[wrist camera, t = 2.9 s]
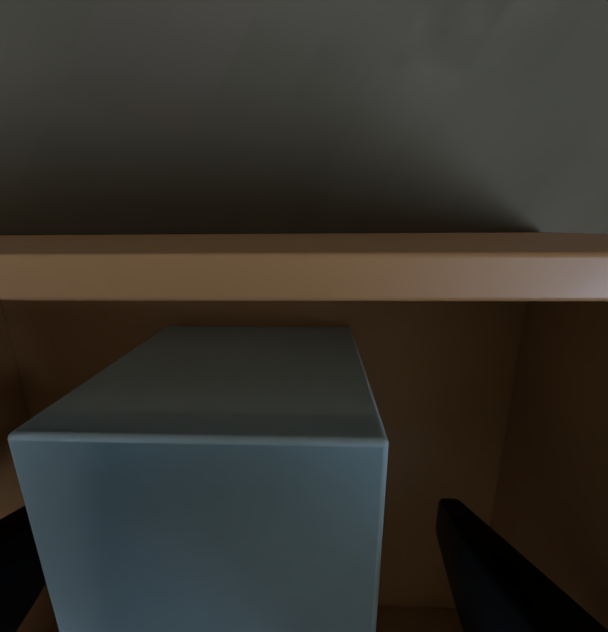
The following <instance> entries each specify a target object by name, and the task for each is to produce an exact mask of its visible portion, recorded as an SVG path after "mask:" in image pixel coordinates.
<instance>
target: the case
mask: <svg viewBox="0 0 608 632" xmlns="http://www.w3.org/2000/svg"><path fill="white" fill-rule="evenodd" d="M7 440H8V443H9V447H10V451H11V454H12V458H13V462H14V466H15V469H16V473H17V477H18V481H19V484H20V488H21V492H22V495H23V499H24V503H25V507H26V510H27V514H28V518H29V522H30V525H31V529H32V533H33V536H34V540H35V544H36V548H37V551H38V555H39V559H40V562H41V566H42V570H43V574H44V577H45V581H46V585H47V589H48V592H49V596H50V600H51V603H52V607H53V611H54V615H55V618H56V622H57V626H58V630H59V632H376V624H377V610H378V595H379V580H380V565H381V551H382V536H383V521H384V506H385V492H386V477H387V462H388V447H389V442H388V439H387V436H386V433H385V430H384V427H383V424H382V421H381V418H380V415H379V412H378V409H377V406H376V403H375V400H374V397H373V394H372V391H371V388H370V385H369V382H368V379H367V376H366V373H365V370H364V367H363V364H362V361H361V358H360V355H359V352H358V349H357V346H356V343H355V340H354V337H353V334H352V331H351V328H350V327H271V326H168V327H166V328H164V329H163V330H161V331H160V332H158V333H157V334H155V335H154V336H153V337H151V338H150V339H148V340H147V341H145V342H144V343H142V344H141V345H139V346H138V347H136V348H135V349H133V350H132V351H130V352H129V353H127V354H126V355H124V356H123V357H122V358H120V359H119V360H117V361H116V362H114V363H113V364H111V365H110V366H108V367H107V368H105V369H104V370H102V371H101V372H99V373H98V374H96V375H95V376H93V377H92V378H91V379H89V380H88V381H86V382H85V383H83V384H82V385H80V386H79V387H77V388H76V389H74V390H73V391H71V392H70V393H68V394H67V395H65V396H64V397H62V398H61V399H59V400H58V401H57V402H55V403H54V404H52V405H51V406H49V407H48V408H46V409H45V410H43V411H42V412H40V413H39V414H37V415H36V416H34V417H33V418H31V419H30V420H28V421H27V422H26V423H24V424H23V425H21V426H20V427H18V428H17V429H15V430H14V431H12V432H11V433H10V434H9V435H8V439H7Z"/></svg>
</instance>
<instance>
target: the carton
mask: <svg viewBox="0 0 608 632" xmlns="http://www.w3.org/2000/svg"><path fill="white" fill-rule="evenodd" d="M168 326H271V327H350V328H351V331H352V334H353V337H354V340H355V343H356V346H357V349H358V352H359V355H360V358H361V361H362V364H363V367H364V370H365V373H366V376H367V379H368V382H369V385H370V388H371V391H372V394H373V397H374V400H375V403H376V406H377V409H378V412H379V415H380V418H381V421H382V424H383V427H384V430H385V433H386V436H387V439H388V442H389V447H388V462H387V477H386V492H385V506H384V521H383V536H382V551H381V565H380V580H379V595H378V610H377V624H376V632H464V631H463V628H462V625H461V622H460V619H459V616H458V613H457V610H456V607H455V603H454V600H453V596H452V592H451V588H450V584H449V581H448V577H447V573H446V569H445V566H444V562H443V558H442V554H441V550H440V547H439V543H438V539H437V534H436V519H437V511H438V503H439V500H440V499H442V498H455V499H458V500H460V501H461V502H462V503H463V504H464V505H466V506H467V507H468V508H469V509H470V510H471V511H472V512H474V513H475V514H476V515H477V516H478V517H479V518H480V519H482V520H483V521H484V522H485V523H486V524H487V525H488V526H490V527H491V528H492V529H493V530H494V531H495V532H496V533H498V534H499V535H500V536H501V537H502V538H503V539H504V540H506V541H507V542H508V543H509V544H510V545H511V546H512V547H514V548H515V549H516V550H517V551H518V552H519V553H520V554H522V555H523V556H524V557H525V558H526V559H527V560H528V561H530V562H531V563H532V564H533V565H534V566H535V567H536V568H538V569H539V570H540V571H541V572H542V573H543V574H544V575H546V576H547V577H548V578H549V579H550V580H551V581H552V582H554V583H555V584H556V585H557V586H558V587H559V588H560V589H562V590H563V591H564V592H565V593H566V594H567V595H568V596H570V597H571V598H572V599H573V600H574V601H575V602H576V603H578V604H579V605H580V606H581V607H582V608H583V609H584V610H586V611H587V612H588V613H589V614H590V615H591V616H592V617H594V618H595V619H596V620H597V621H598V622H599V623H600V624H602V625H603V626H604V627H605V628H606V629H607V630H608V234H584V233H551V232H507V233H326V234H145V235H0V519H1V518H3V517H5V516H7V515H9V514H10V513H12V512H14V511H16V510H18V509H20V508H21V507H23V506H25V503H24V499H23V495H22V492H21V488H20V484H19V481H18V477H17V473H16V469H15V466H14V462H13V458H12V454H11V451H10V447H9V443H8V440H7V439H8V435H9V434H10V433H11V432H12V431H14V430H15V429H17V428H18V427H20V426H21V425H23V424H24V423H26V422H27V421H28V420H30V419H31V418H33V417H34V416H36V415H37V414H39V413H40V412H42V411H43V410H45V409H46V408H48V407H49V406H51V405H52V404H54V403H55V402H57V401H58V400H59V399H61V398H62V397H64V396H65V395H67V394H68V393H70V392H71V391H73V390H74V389H76V388H77V387H79V386H80V385H82V384H83V383H85V382H86V381H88V380H89V379H91V378H92V377H93V376H95V375H96V374H98V373H99V372H101V371H102V370H104V369H105V368H107V367H108V366H110V365H111V364H113V363H114V362H116V361H117V360H119V359H120V358H122V357H123V356H124V355H126V354H127V353H129V352H130V351H132V350H133V349H135V348H136V347H138V346H139V345H141V344H142V343H144V342H145V341H147V340H148V339H150V338H151V337H153V336H154V335H155V334H157V333H158V332H160V331H161V330H163V329H164V328H166V327H168ZM17 632H59V630H58V626H57V622H56V618H55V615H54V611H53V607H52V603H51V600H50V596H49V592H48V589H47V585H46V584H45V586H44V588H43V589H42V591H41V593H40V595H39V596H38V598H37V600H36V601H35V603H34V605H33V606H32V608H31V610H30V611H29V613H28V614H27V616H26V617H25V619H24V621H23V622H22V624H21V625H20V627H19V628H18V630H17Z"/></svg>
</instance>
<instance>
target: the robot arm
mask: <svg viewBox="0 0 608 632" xmlns="http://www.w3.org/2000/svg"><path fill="white" fill-rule="evenodd" d="M436 534H437V539H438V543H439V547H440V550H441V554H442V558H443V562H444V566H445V569H446V573H447V577H448V581H449V584H450V588H451V592H452V596H453V600H454V603H455V607H456V610H457V613H458V616H459V619H460V622H461V625H462V628H463V631H464V632H608V630H607V629H606V628H605V627H604V626H603V625H602V624H600V623H599V622H598V621H597V620H596V619H595V618H594V617H592V616H591V615H590V614H589V613H588V612H587V611H586V610H584V609H583V608H582V607H581V606H580V605H579V604H578V603H576V602H575V601H574V600H573V599H572V598H571V597H570V596H568V595H567V594H566V593H565V592H564V591H563V590H562V589H560V588H559V587H558V586H557V585H556V584H555V583H554V582H552V581H551V580H550V579H549V578H548V577H547V576H546V575H544V574H543V573H542V572H541V571H540V570H539V569H538V568H536V567H535V566H534V565H533V564H532V563H531V562H530V561H528V560H527V559H526V558H525V557H524V556H523V555H522V554H520V553H519V552H518V551H517V550H516V549H515V548H514V547H512V546H511V545H510V544H509V543H508V542H507V541H506V540H504V539H503V538H502V537H501V536H500V535H499V534H498V533H496V532H495V531H494V530H493V529H492V528H491V527H490V526H488V525H487V524H486V523H485V522H484V521H483V520H482V519H480V518H479V517H478V516H477V515H476V514H475V513H474V512H472V511H471V510H470V509H469V508H468V507H467V506H466V505H464V504H463V503H462V502H461V501H460V500H458V499H455V498H442V499H440V500H439V503H438V511H437V519H436ZM45 584H46V581H45V577H44V574H43V570H42V566H41V562H40V559H39V555H38V551H37V548H36V544H35V540H34V536H33V533H32V529H31V525H30V522H29V518H28V514H27V510H26V507H25V506H23V507H21V508H20V509H18V510H16V511H14V512H12V513H10V514H9V515H7V516H5V517H3V518H1V519H0V632H17V630H18V628H19V627H20V625H21V624H22V622H23V621H24V619H25V617H26V616H27V614H28V613H29V611H30V610H31V608H32V606H33V605H34V603H35V601H36V600H37V598H38V596H39V595H40V593H41V591H42V589H43V588H44V586H45Z"/></svg>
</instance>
